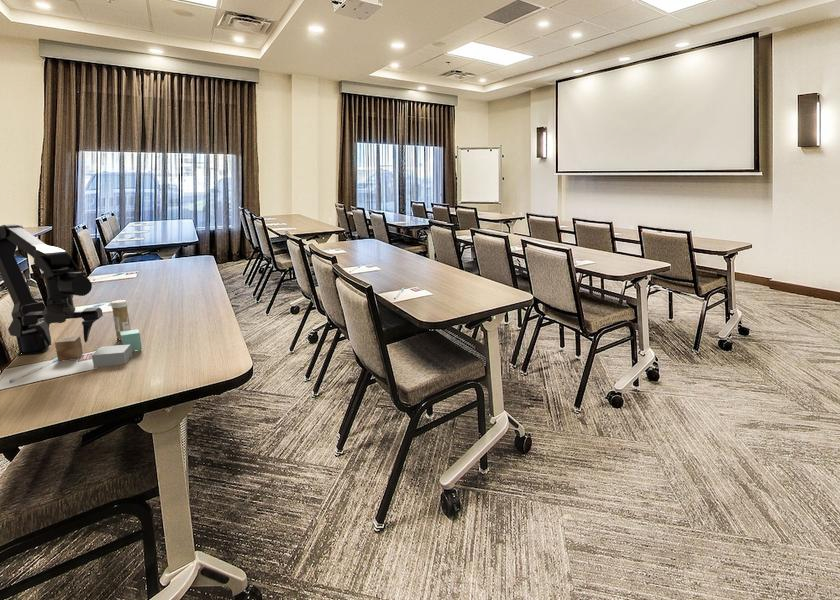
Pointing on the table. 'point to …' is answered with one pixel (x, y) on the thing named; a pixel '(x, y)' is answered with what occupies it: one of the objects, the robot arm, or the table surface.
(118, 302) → the sprinkles bottle
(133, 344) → the teal block
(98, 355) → the grey slab
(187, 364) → the table surface
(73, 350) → the walnut block
